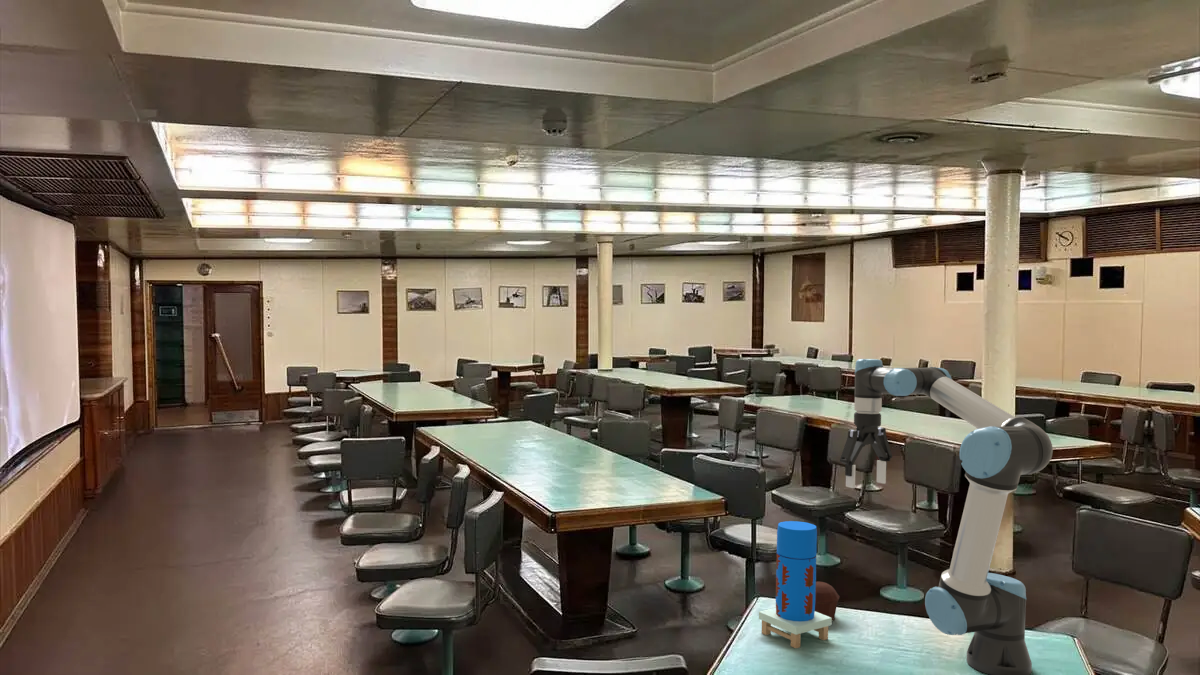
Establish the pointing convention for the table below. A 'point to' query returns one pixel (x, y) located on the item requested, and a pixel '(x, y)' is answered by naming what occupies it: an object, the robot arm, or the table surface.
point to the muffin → (826, 599)
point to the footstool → (794, 626)
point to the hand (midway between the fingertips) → (865, 485)
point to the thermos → (796, 570)
